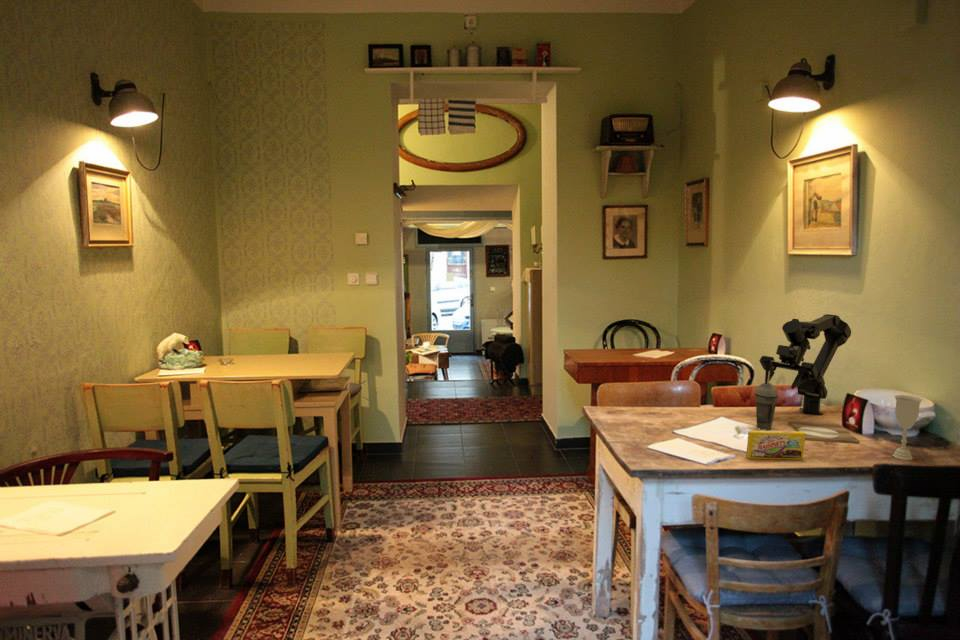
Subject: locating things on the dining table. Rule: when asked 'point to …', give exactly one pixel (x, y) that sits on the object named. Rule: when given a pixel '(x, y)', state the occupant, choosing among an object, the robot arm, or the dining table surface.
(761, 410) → the beverage cup
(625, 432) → the dining table surface
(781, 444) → the candy box
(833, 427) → the walnut board
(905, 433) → the chalice
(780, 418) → the dining table surface
